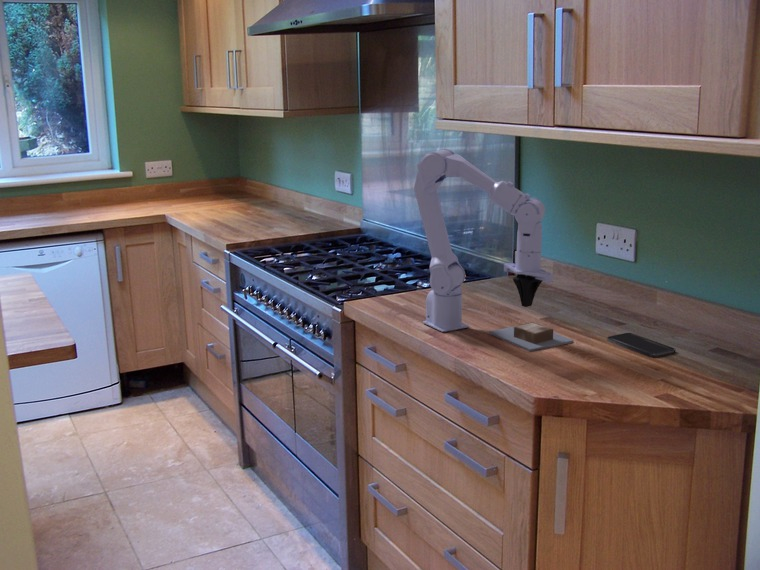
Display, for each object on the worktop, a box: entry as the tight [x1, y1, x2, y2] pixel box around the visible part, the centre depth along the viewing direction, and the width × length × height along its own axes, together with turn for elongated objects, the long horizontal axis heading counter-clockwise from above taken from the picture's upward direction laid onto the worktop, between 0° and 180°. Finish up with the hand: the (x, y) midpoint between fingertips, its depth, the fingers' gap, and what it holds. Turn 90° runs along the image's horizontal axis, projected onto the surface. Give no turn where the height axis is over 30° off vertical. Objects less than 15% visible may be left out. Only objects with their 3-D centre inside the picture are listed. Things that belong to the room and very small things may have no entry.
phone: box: [606, 332, 676, 359], centre depth 191 cm, size 8×1×15 cm
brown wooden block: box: [513, 322, 554, 344], centre depth 196 cm, size 3×6×7 cm
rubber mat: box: [487, 325, 574, 352], centre depth 198 cm, size 16×13×1 cm
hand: (526, 305), depth 198 cm, fingers closed
